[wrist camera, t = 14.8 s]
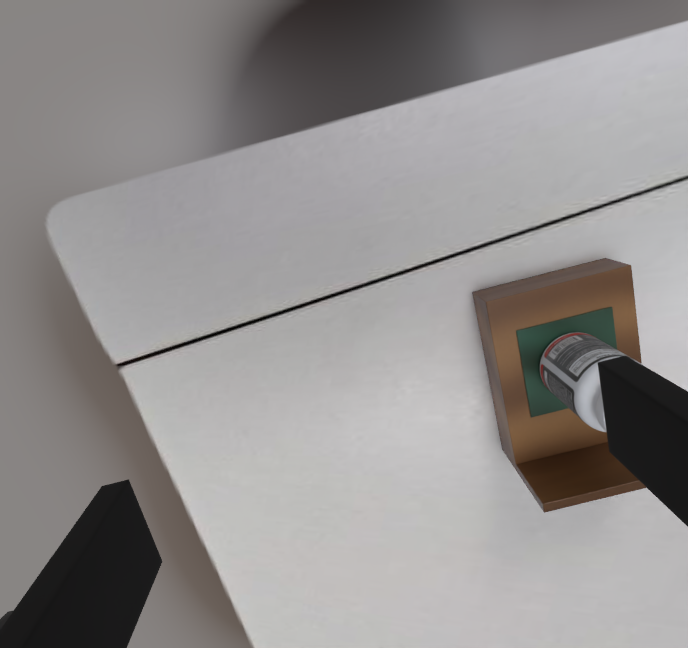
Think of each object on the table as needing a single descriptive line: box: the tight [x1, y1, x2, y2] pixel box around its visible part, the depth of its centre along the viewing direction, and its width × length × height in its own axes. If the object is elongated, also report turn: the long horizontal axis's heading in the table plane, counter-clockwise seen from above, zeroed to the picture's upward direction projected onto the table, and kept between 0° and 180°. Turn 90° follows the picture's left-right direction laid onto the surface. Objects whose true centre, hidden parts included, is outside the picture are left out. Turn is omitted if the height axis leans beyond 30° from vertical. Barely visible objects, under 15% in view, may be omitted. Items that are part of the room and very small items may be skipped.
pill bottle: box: [540, 332, 642, 432], centre depth 40 cm, size 6×6×10 cm
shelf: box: [473, 258, 647, 512], centre depth 44 cm, size 16×12×10 cm
